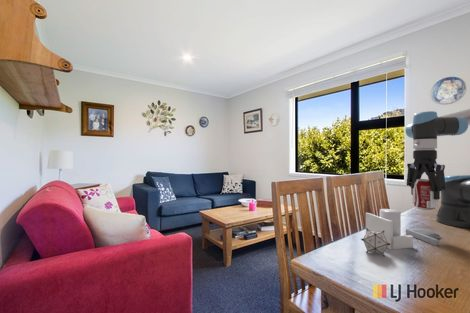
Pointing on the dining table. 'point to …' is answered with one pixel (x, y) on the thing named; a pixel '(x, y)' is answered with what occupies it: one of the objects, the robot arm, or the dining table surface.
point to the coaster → (428, 233)
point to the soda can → (422, 194)
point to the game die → (375, 242)
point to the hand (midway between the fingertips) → (424, 205)
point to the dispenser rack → (394, 229)
